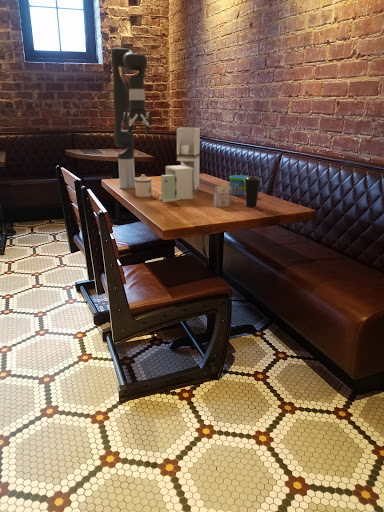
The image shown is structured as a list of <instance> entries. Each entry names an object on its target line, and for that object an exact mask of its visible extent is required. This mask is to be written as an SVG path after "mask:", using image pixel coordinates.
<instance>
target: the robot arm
mask: <svg viewBox="0 0 384 512" xmlns="http://www.w3.org/2000/svg"><path fill="white" fill-rule="evenodd" d="M110 55H111V67H112V79H113V80H112V81H113V83H112V84H113V93H112V94H113V110H114V129H113V140H114V144H115V146H116V147H119V148H123V147H126V149H125V150H123V151H120V152H119V153H118V154H117V157H118V158H117V161H118V177H119V179H118V180H119V188H120V189H127V190H128V189H134V188H135V189H136V187H135V179H136V176H135V173H136V172H135V156H134V155H135V136H134V132H133V130H132V125H133V123H134V122H142V124H143V125H144V134H145V135H148V134H149V131H150V129H149V127H150V126H151V125H153V116H152V112H151V111H147V112H146V96H145V95H146V94H145V84H144V83H145V82H144V81H145V74H146V69H147V64H148V60H147V57H146V55H145V54H143V53H135V52H133V50H131V49H130V48H125V47H113V48H111V53H110ZM120 68H125V69H126V70H128V71H138V73H137V74H135V75H130V76H129V78H128V86H127V85H126V83H125V81H124V80H123V78H122V76H121V73H120V70H119V69H120ZM128 117H130V118H128ZM146 117H147V119H146ZM128 119H129V120H128ZM122 125H124V126H126V127H127V129H122Z"/></svg>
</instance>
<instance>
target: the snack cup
mask: <svg viewBox="0 0 384 512" xmlns="http://www.w3.org/2000/svg"><path fill="white" fill-rule="evenodd" d="M247 177H249V176H248V175H244V174H243V175H241V174H240V175H239V174H235V175H230V176H228V180H229V185H228V186H229V187H230V193H231V195H232V196H245V195H246V186H245V178H247Z"/></svg>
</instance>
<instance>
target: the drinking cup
mask: <svg viewBox="0 0 384 512" xmlns="http://www.w3.org/2000/svg"><path fill="white" fill-rule="evenodd" d="M254 172H255V165H252V171H251V175H250V176H248V177H247V178H245V186H246V191H245V204H246V207H247V208H256V207H257V202H258V196H259V189H260V182H261V178H260V177H258V176H255V175H254V174H255V173H254Z"/></svg>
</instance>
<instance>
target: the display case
mask: <svg viewBox="0 0 384 512" xmlns="http://www.w3.org/2000/svg"><path fill="white" fill-rule="evenodd" d="M200 130H201V127H177V128H176V161H177V162H180V165H184V166H188V167H191V168H193V194H197V192H198V191H199V190H200V148H201V145H200V144H201V143H200V142H201V138H200V137H201V134H200V133H201V132H200Z"/></svg>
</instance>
